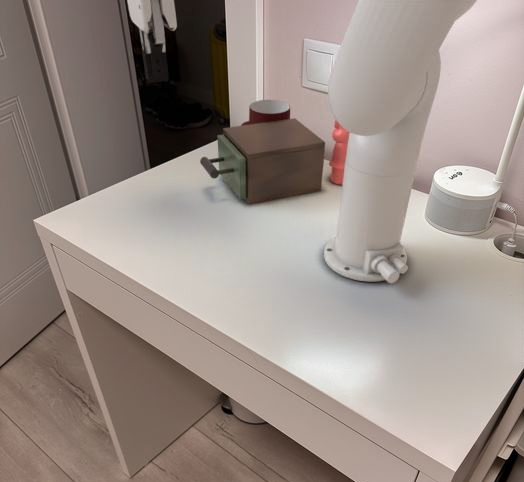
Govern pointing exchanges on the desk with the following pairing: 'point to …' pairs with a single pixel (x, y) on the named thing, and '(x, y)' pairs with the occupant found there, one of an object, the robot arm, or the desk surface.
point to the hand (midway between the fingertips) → (157, 80)
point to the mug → (267, 111)
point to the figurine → (339, 153)
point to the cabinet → (279, 158)
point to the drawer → (228, 166)
